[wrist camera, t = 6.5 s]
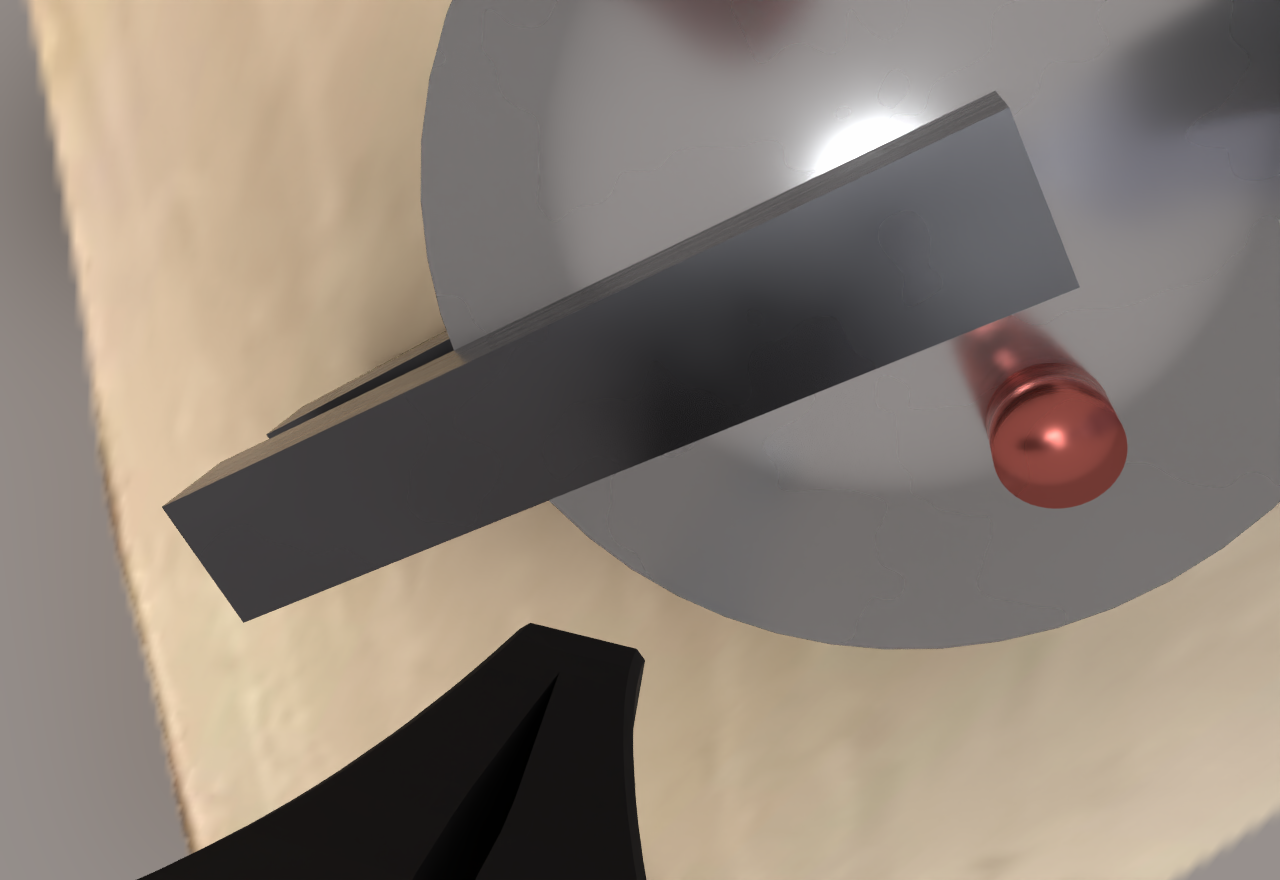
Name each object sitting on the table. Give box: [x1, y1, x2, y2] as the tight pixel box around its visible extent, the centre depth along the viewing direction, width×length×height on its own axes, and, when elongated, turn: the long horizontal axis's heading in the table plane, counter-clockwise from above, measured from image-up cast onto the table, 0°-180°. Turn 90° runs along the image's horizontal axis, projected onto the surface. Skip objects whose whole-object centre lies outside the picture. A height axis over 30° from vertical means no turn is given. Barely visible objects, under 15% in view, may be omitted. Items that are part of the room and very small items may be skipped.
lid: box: [162, 0, 1280, 649], centre depth 14 cm, size 20×13×2 cm, turn 118°
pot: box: [267, 331, 454, 439], centre depth 17 cm, size 20×13×4 cm, turn 119°
